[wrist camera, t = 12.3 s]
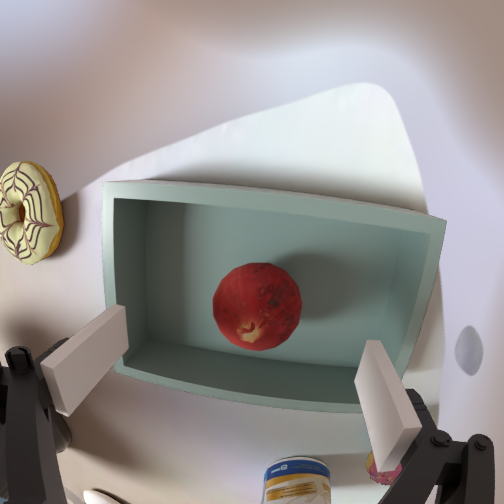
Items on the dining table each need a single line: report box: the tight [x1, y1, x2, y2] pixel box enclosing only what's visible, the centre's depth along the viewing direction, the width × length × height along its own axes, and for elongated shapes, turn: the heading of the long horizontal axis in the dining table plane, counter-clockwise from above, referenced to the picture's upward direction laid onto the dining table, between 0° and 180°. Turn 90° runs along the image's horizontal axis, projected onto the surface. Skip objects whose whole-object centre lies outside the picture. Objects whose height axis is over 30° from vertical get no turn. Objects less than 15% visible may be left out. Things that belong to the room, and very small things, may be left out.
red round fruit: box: [212, 262, 302, 351], centre depth 19 cm, size 6×6×8 cm
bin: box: [102, 179, 447, 413], centre depth 21 cm, size 22×15×6 cm
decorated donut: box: [0, 161, 64, 265], centre depth 24 cm, size 10×11×4 cm
